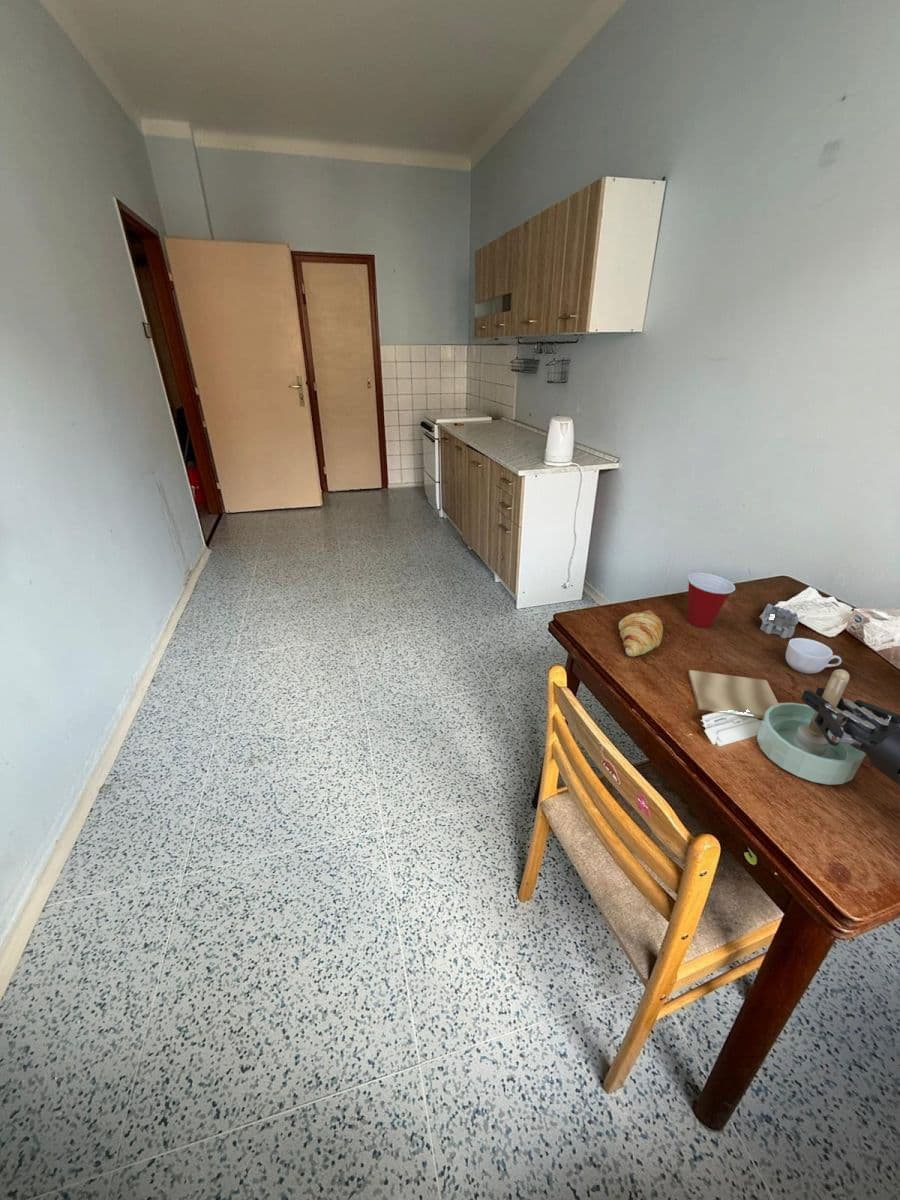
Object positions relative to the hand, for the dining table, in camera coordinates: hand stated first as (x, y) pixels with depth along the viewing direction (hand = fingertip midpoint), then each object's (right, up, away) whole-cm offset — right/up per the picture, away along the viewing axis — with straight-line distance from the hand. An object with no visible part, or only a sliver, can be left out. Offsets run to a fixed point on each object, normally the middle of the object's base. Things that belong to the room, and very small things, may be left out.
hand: (811, 692), depth 80 cm
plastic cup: (+4, +10, +42) cm, 44 cm away
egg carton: (+22, +9, +40) cm, 46 cm away
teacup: (+18, 0, +24) cm, 30 cm away
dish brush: (+1, -10, +2) cm, 10 cm away
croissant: (-15, +6, +36) cm, 40 cm away
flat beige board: (-3, -4, +17) cm, 18 cm away
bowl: (+1, -11, +3) cm, 12 cm away
